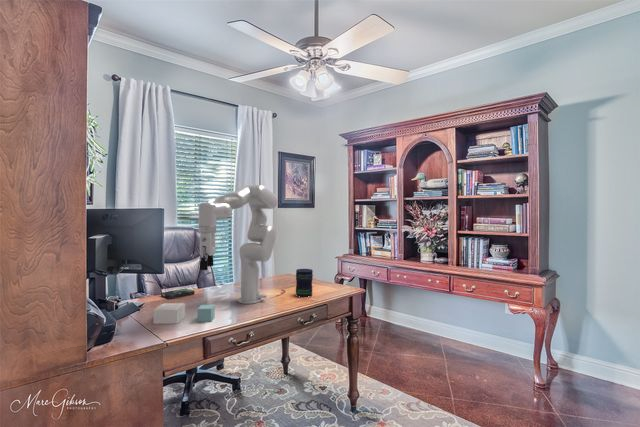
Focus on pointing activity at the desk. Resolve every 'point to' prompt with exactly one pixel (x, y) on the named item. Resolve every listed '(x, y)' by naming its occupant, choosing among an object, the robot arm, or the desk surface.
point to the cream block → (169, 313)
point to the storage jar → (304, 282)
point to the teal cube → (206, 313)
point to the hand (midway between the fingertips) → (206, 268)
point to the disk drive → (177, 293)
